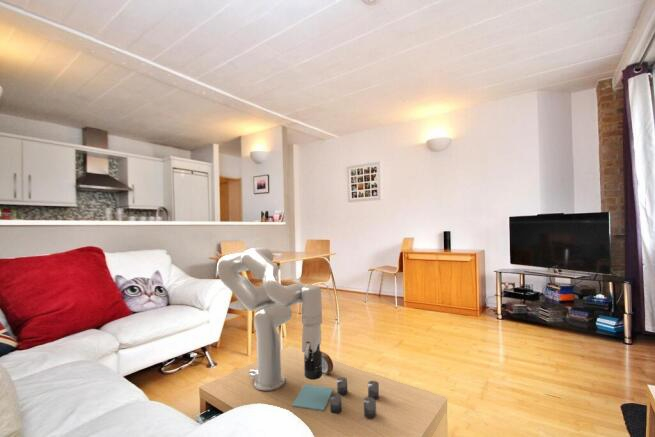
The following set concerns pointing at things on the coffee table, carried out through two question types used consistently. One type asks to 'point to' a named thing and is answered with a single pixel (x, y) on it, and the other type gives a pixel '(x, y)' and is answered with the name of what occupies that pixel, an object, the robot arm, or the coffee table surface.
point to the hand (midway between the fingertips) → (313, 365)
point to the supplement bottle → (317, 365)
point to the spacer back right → (373, 389)
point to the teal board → (313, 397)
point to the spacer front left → (335, 403)
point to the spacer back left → (342, 386)
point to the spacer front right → (370, 408)
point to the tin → (326, 363)
